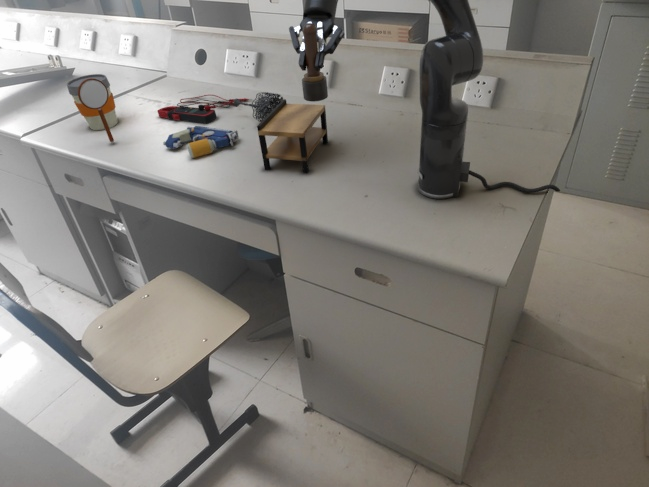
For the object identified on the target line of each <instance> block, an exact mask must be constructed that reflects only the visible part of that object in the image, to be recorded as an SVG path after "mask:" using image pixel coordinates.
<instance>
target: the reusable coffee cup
mask: <svg viewBox="0 0 649 487" xmlns="http://www.w3.org/2000/svg"><path fill="white" fill-rule="evenodd" d="M90 78H94V79H98V80H100V81H101V82H102V83H104V85H105V86H106V87H107V90H108V95H109V96H108V101H107V103H106V104H105V105H104V106H103V107H102V108H101V109H102V111H103V114H104V116H105V119H106V121H107V124H108V126H109V129H111V128H113V127H115V126H116V125H117V124H118V117H117V113H116V102H115V99H114V98H115V97H114V95H113V94H114V93H113V92H112V91H111V83H110V81H109V79H108V77H107V75H105V74H102V73H93V74H87V75H86V74H85V75H82V76H78V77H75V78H72V79H71V80H69V81H67V83H66V87H67V90H68V94H69V95H70V96H71V97H72V100H74V101H73V103H74V105H75V106H76V108H77V110H78V112H79V113H80V116H82V117H83V118H84V119H85V121H86V123H87V125H88V127H89V128H90V129H91V130H92V131H103V130H105V127H104V125H103V122H102V120H101V117H100V115H99V112H98V109H89V108H87V107H85V106H84V105H83V104H82V103H81V101H80V100H79V97H78V88H79V86H80V84H81V83H82V82H83V81H84V80H86V79H90Z"/></svg>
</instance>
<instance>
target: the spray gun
mask: <svg viewBox="0 0 649 487" xmlns="http://www.w3.org/2000/svg"><path fill="white" fill-rule="evenodd" d="M239 137H240V136H239V132H238V130H236V129H235V130H230V129H223V128H213V127H208V126H200V125H195V126H187V127H186V129H184V130H180V131H177V132H174V133H172V134H169V135H168V137H167V139H166V140H165V141H163V142H162V145H163V146H165V147H166V148H167V149H173V150H176V149H177V148H179V147H182V146H183V145H186V148H187V149H188V153H189V156H190V157H191V158H193V159H194V158H199V157H202V156H206V155H208V154H212V153H213V152H214V150H216V149H217V148H220V149H221V148H224V147H228V146H229V145H230V146H231V147H233V146H234V143H235V142H236V141H237V140H239Z"/></svg>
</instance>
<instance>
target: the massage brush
mask: <svg viewBox="0 0 649 487" xmlns="http://www.w3.org/2000/svg"><path fill="white" fill-rule="evenodd" d="M234 99H235V100H234V102H233V103H234V105H233V106H234V107H235V108H236V107H239V106H240V105H242V106H249V107H251V109H252V117H253V118H254V119H255V120H256V121H258V122H259V123H261V122H262V121H263V120H264V119H265V117H266V116H267V115H268V114H269V113H270V112H271V111H272V110H273V109H274V108H275V107H276V106H277V105H278V104H279V103H280V102H281V101H282V100H283V99H284V97H283V96H282V95H281V94H278V93H274V92H273V93H272V92H264V91H263V92H261V91H260V92H258V93H256V96H255V98H254V100H252V101H251V103H248V102H244V101H239V99H240V98H234ZM286 104H288V103H287V102H286Z"/></svg>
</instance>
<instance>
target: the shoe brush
mask: <svg viewBox="0 0 649 487" xmlns="http://www.w3.org/2000/svg"><path fill="white" fill-rule="evenodd" d="M316 33H317V29H316V27H315V25H314V24H312V23H307V24H305V25H304V27H303V32H302V34H303V36H304V46H305V55H306V65H307V66H306V72H305V73H303V77H302V79H301V86H302V96H303V100H305V101H307V102H312V103H313V102H314V103H315V102H320V101H321V102H322V101H324V100H326V99H328V97H329V93H328V80H327V79H328V78H327V76H326V75H325V73H324V72H323V71H321V70H320V71H317V70H316V69H315V62H316V56H317V52H319V50H318V42H317V34H316ZM303 36H302V37H303Z"/></svg>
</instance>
